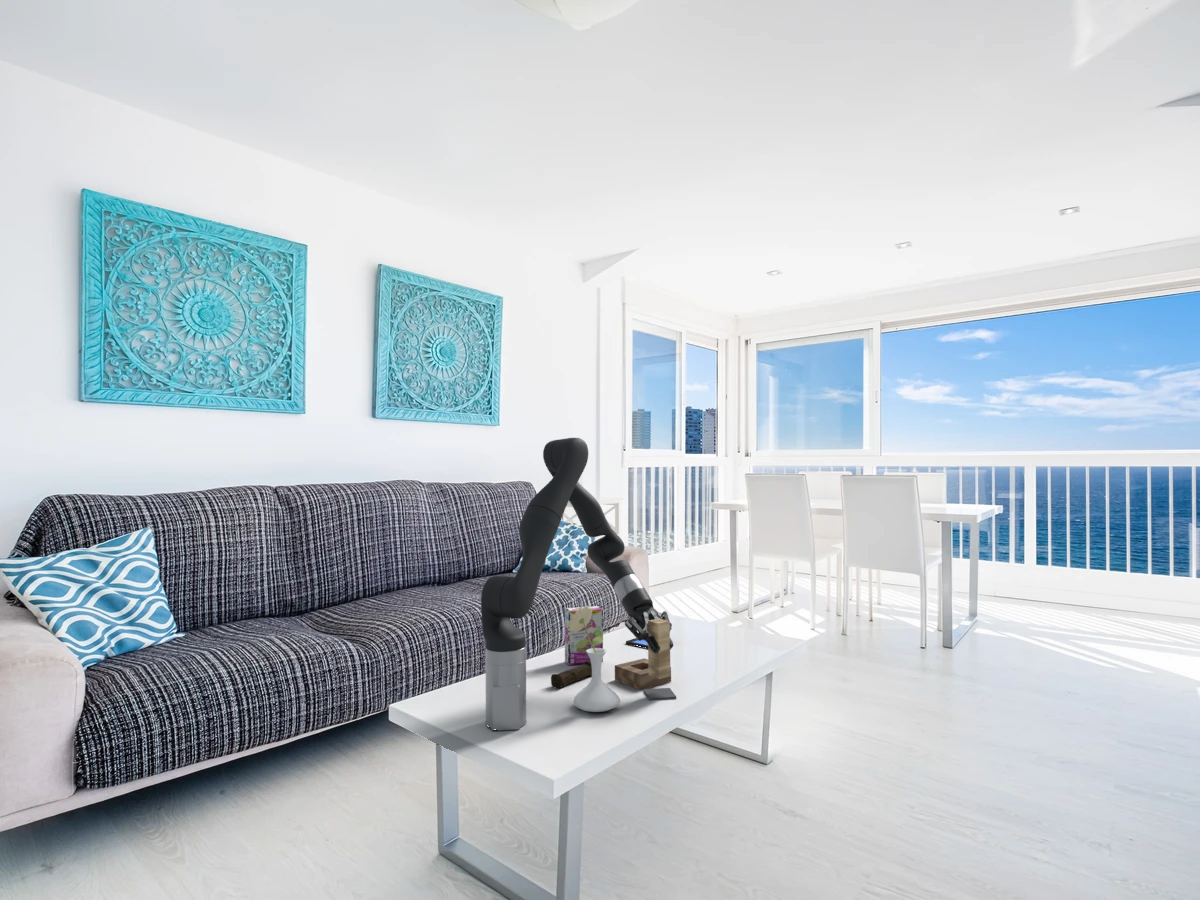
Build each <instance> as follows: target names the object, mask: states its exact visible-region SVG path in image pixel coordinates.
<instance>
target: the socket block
mask: <svg viewBox="0 0 1200 900" xmlns="http://www.w3.org/2000/svg"><path fill="white" fill-rule="evenodd" d="M670 671H671V672H672V666H670ZM614 681H615V682H619V683H622V684H625V685H627V686H630V687H632V688H634V689H637V690H640V691H644V689H651V688H654V687H658V686H660V684H661V685H664V683H665V684H668V683H671V682H672V675H671V676H669V677H665V678H661V679H657V678H655V677H652V676H649V669H648V658H641V659H637V660H632V661H626V662H624V663H620V664H615V665H614ZM670 681H671V682H670ZM667 682H668V683H667Z"/></svg>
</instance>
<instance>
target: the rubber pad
mask: <svg viewBox="0 0 1200 900" xmlns="http://www.w3.org/2000/svg"><path fill="white" fill-rule="evenodd" d="M643 692H644V694H645V696H646V698H647V699H648V700H649V701H658V700H660V699H662V700H672V699H671V698H676V699H677V695H676V694H675V693H674V691H673V690H672V688H670V687H662V688H661V687H657V688H647V689H643ZM660 701H661V700H660Z"/></svg>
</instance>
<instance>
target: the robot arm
mask: <svg viewBox="0 0 1200 900" xmlns="http://www.w3.org/2000/svg"><path fill="white" fill-rule="evenodd" d="M542 457H543V458H542V459H543V461H544V464H545V466H546V468H547V471H548V472H549V474H550V475H551V477H552V479H550V481H549V482H548V483H547V484H545V486H544V487H543V488H542V489H540V490H539V491H538V492H537V493H536V494H535V495H534V496H533V498H531V500H530V501H529V503H528V505H527V506H526V509H525V511H524V513H523V515H522V518H521V520H520V523H519V527H518V532H519V533H518V534H519V539H520V540H519V541H520V544H521V550H522V559H521V562H520V565H519V568H518V571H517V573H516V575H515V576H506V575H494V576H490V577H489V578H488V579H487V580H486V581H485V583H484V584H483V587H482V590H481V595H480V610H481V631H482V636H483V639H484V642H485V725H486V724H487V725H488V726H489V727H491V728H492V729H491V728H490V729H491V731H492V730H494V729H496V730H498V731H512V730H520V729H521V727H523V726H525V725H526V723H527V637H526V634H525V633H524V632H523V631H522V630H521V629H519V628H518V627H517V626H516V625H515V624H514V623H513V622H512V620H511V619H515V620H516V619H522V618H524V617H525V616H526V615H527V614H528V613H529V611H530V610H531V607H532V606H533V603H534V600H535V597H536V594H537V591H538V586H539V583H540V579H541V576H542V571H543V569H544V565H545V563H546V559H547V557H548V555H549V552H550V548H551V546H552V544H553V541H554V539H555V537H556V534H557V532H558V529H559V527H560V525H561V522H562V518H563V515H564V513H565V510H566V508H567V505H568V503H570V505H571V506H572V508H573V510H574V511H575V513H576V516H577V518H578V519H579V523H580V525H581V527H582V529H583V530H584V533H585V535H586V536H587V537H590V538H597V537H600V538H598V539H597V540H594V541H593V542H591V543H589V545H588V546H587V549H586V550H587V555H588V558H589V559H590V560H591V562H592V563H593V564H595V565H596V566H597V567H598V569H600V570H601V571H602V573H604V574H605V576H606V577H607V579H608V581H610V584H611V586H612V588H613V589H614V592H615V594H616V596H617V598H618V600H619V602H620V604H621V605H622V607H623V608H624V610H625V612H626V614H627V616H628V619H627V620H626V622H625V623H624V625H625V627H626V628H627V630H629V631H630V632H631V634H632V635H633V636H634V637H635V638H637V639H638V640H639V641H641V640H645V641H646V642H647V643H648V645H649V647H650V648H651V650H652V651H653V652H654V653H658V651H659V650H660V646H659V645H658V643H657V642H656V640H655V638H654V636H653V637H652V632H651V631H650V626H649V624H648V621H649V620H654V619H663V620H667V621H670V618H669V614H668V612H667V611H666V610H664V611H663V612H659V611H658V610H657V609H656V608H655V607H654V602H653V600H652V598H651V597H650V595H649V593H648V592H647V590H646V588H645V586H644V585H643V583H642V582H641V580H640V578H638V577H637V575H636V573H635V571H634V570H633V568H632V567H631V565H630V563H629V562H628V561H627V560H626V559H620V560H615V559H616V558H619V557H620V556H621V555H623V554H624V552H625V543H624V541H623V539H622V538H621V537H620V536H619V534H618V533H616V531H614V529H613V528H612V527H611V525H610V524H609V522H608V520H607V518H606V516H605V513H604V511H603V509H602V506H601V505H600V503H599V502H598V500H597V499H596V498H595V497H594V495H592V493H590V491H588V490H587V489H586V488H585V487H584V486H583V485H582V484H580V483H579V480H580V478H581V477H582V475H583V473H584V471H585V469H586V466H587V463H588V459H589V448H588V444H587V443H586V441H585V440H584V439H583V438H581V437H568V438H560V439H554V440H550V441H548V442H547V443H546V444H545V445H544V448H543V451H542ZM601 536H602V537H601ZM612 560H615V561H612ZM670 631H672V627H671V625H670ZM639 633H640V634H639ZM673 647H674V642H673V640H672V639H671V637H670V651H671V650H672V649H673ZM489 727H488V728H489Z"/></svg>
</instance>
